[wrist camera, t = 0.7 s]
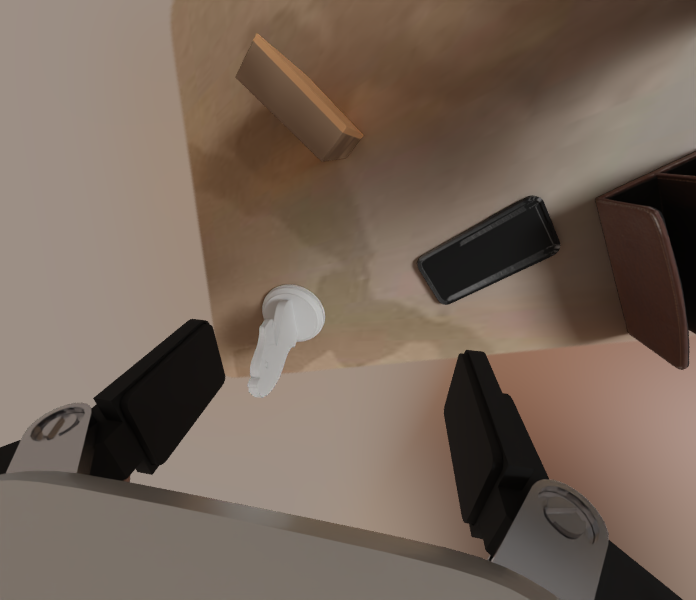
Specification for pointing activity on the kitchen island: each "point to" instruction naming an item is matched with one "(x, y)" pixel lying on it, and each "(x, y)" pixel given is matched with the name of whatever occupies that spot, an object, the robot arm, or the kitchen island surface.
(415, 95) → the kitchen island surface
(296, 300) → the chess piece
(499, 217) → the phone
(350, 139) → the tan flat block
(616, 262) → the letter holder
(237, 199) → the kitchen island surface
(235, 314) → the kitchen island surface
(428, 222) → the kitchen island surface
